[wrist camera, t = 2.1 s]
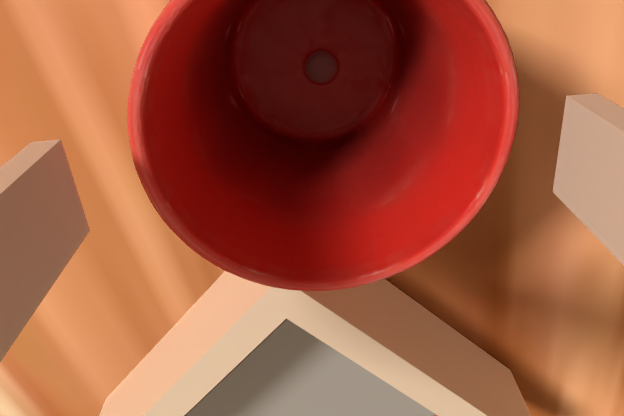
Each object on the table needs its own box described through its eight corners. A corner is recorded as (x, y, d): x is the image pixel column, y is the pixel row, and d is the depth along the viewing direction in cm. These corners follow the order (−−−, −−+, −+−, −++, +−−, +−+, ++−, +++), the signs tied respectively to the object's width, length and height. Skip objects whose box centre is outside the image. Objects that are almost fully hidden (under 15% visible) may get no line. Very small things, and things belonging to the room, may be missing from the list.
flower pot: (448, 150, 25) (522, 267, 17) (225, 187, 26) (187, 318, 18) (433, -104, 20) (526, -119, 12) (157, -47, 21) (60, -24, 13)
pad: (297, 306, 30) (297, 309, 30) (444, 403, 34) (445, 406, 33) (176, 421, 34) (175, 425, 34) (319, 495, 38) (319, 499, 38)
